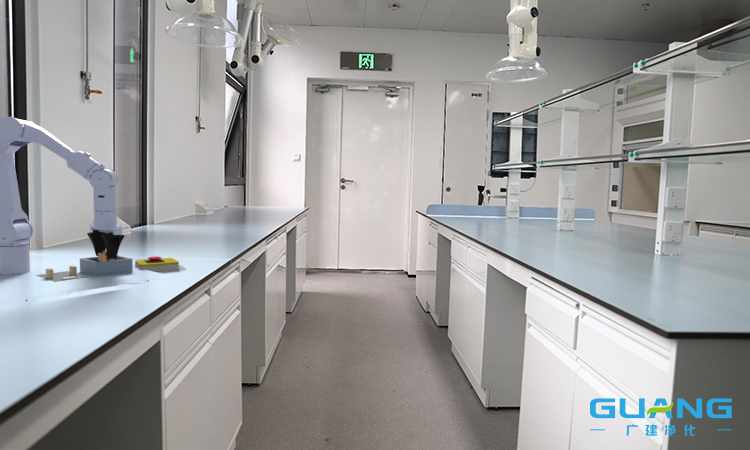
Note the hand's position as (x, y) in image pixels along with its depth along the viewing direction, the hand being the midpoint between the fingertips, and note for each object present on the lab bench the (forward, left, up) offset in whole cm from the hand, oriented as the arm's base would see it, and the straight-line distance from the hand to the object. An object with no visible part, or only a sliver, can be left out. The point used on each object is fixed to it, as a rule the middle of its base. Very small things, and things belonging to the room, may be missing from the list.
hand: (106, 257), depth 137 cm
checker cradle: (-2, -11, -5) cm, 12 cm away
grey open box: (0, 0, -5) cm, 5 cm away
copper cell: (0, 0, -5) cm, 5 cm away
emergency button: (+2, +15, -6) cm, 16 cm away
